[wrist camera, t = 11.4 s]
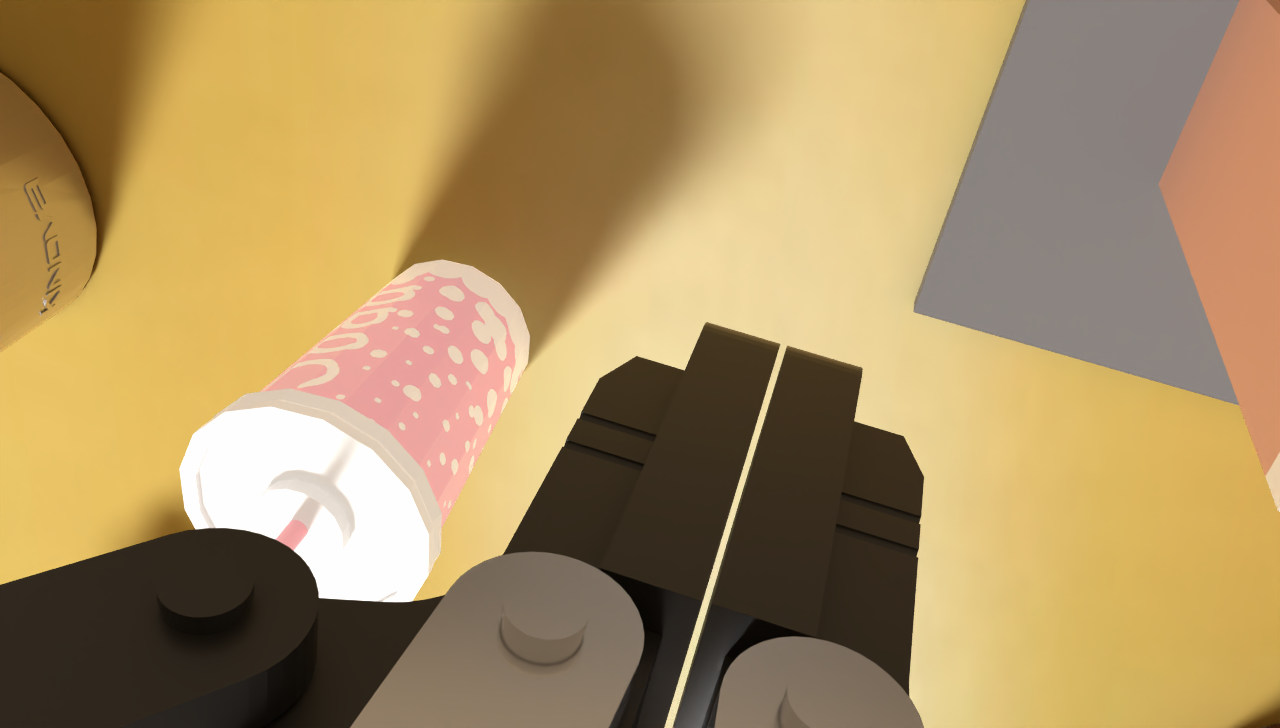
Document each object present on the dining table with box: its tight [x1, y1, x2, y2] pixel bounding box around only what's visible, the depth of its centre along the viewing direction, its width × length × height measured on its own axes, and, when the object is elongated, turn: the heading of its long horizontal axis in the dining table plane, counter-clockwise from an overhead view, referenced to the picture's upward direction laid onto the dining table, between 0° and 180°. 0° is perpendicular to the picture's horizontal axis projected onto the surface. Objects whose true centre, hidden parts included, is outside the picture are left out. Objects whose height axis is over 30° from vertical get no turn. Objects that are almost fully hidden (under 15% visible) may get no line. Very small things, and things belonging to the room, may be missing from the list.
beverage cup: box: [180, 259, 530, 602], centre depth 27 cm, size 6×6×14 cm
